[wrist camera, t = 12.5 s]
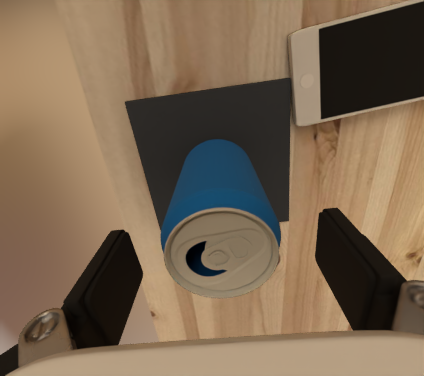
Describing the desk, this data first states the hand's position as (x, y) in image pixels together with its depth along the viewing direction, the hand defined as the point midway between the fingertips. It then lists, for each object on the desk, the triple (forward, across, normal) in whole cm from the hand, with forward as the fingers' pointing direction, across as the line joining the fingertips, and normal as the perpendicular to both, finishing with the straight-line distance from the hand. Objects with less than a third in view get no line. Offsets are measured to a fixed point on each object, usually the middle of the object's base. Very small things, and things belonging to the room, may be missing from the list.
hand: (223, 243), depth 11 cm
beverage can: (+12, 0, +1) cm, 12 cm away
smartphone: (+12, -14, -7) cm, 20 cm away
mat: (+12, 0, +1) cm, 12 cm away
